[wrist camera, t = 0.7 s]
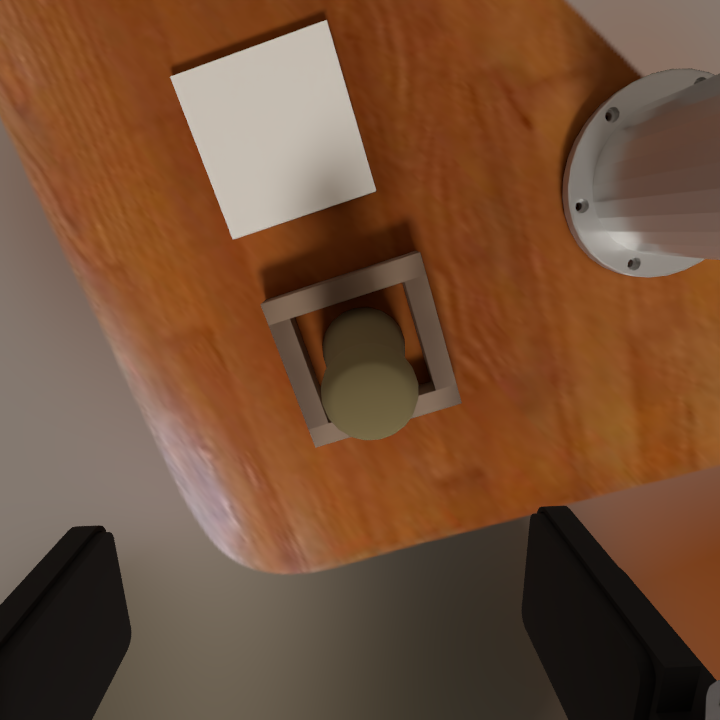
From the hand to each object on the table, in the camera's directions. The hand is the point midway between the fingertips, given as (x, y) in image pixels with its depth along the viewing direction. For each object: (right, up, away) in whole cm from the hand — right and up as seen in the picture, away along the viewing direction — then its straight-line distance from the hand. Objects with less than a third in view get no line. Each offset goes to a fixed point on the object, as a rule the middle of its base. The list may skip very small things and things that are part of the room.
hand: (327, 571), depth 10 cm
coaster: (-5, +19, +19) cm, 27 cm away
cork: (+1, +6, +23) cm, 24 cm away
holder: (+1, +6, +23) cm, 24 cm away
